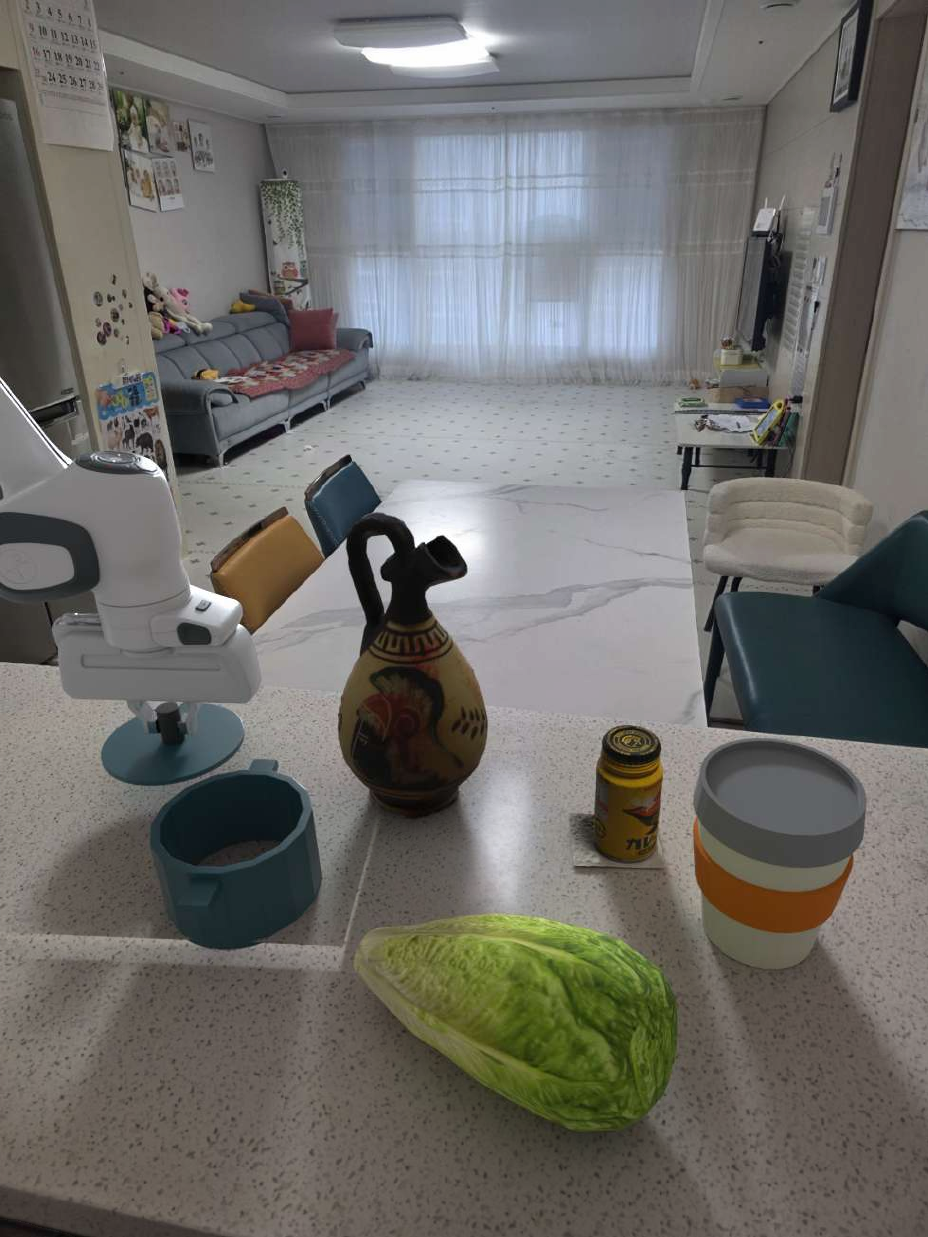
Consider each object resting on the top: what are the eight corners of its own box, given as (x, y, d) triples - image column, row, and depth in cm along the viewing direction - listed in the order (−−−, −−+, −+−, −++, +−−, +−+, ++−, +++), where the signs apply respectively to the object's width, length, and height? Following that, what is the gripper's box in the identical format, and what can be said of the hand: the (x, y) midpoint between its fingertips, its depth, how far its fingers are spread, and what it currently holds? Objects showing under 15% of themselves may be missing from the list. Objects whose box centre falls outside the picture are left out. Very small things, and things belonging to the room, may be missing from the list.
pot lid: (76, 788, 83) (64, 745, 81) (139, 709, 96) (130, 671, 94) (218, 793, 82) (210, 750, 80) (262, 713, 95) (256, 674, 93)
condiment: (665, 869, 76) (675, 762, 71) (573, 867, 77) (576, 761, 71) (654, 817, 82) (662, 716, 77) (569, 815, 83) (571, 715, 78)
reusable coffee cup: (853, 998, 63) (891, 846, 56) (684, 977, 65) (702, 829, 59) (820, 880, 74) (849, 742, 67) (676, 866, 76) (691, 730, 70)
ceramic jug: (513, 765, 91) (511, 506, 78) (446, 853, 79) (430, 564, 66) (383, 729, 98) (361, 486, 85) (303, 805, 86) (263, 535, 73)
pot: (129, 972, 67) (105, 895, 64) (211, 819, 84) (196, 751, 81) (291, 980, 66) (277, 901, 62) (341, 823, 83) (333, 754, 79)
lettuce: (414, 863, 70) (330, 873, 59) (703, 951, 59) (666, 984, 48) (384, 1008, 69) (292, 1046, 58) (675, 1126, 58) (630, 1201, 47)
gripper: (31, 627, 80) (64, 745, 86) (236, 631, 78) (255, 751, 84) (64, 599, 86) (93, 712, 92) (256, 603, 84) (273, 717, 90)
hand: (172, 731), depth 88 cm, fingers closed on pot lid, 2 cm apart
